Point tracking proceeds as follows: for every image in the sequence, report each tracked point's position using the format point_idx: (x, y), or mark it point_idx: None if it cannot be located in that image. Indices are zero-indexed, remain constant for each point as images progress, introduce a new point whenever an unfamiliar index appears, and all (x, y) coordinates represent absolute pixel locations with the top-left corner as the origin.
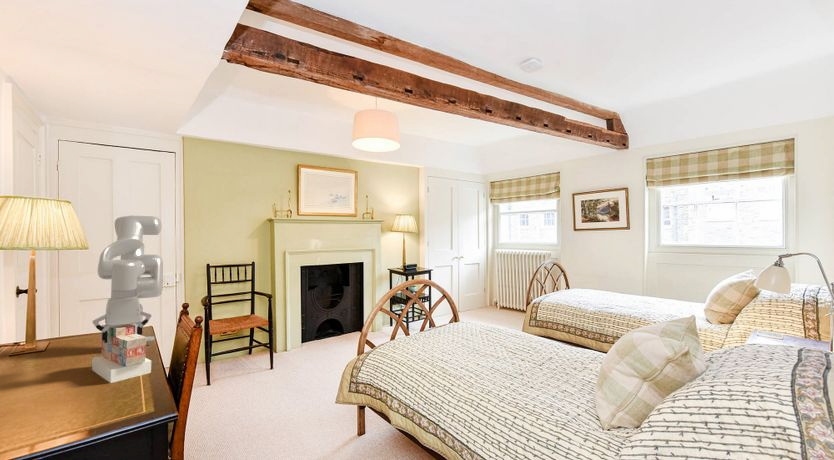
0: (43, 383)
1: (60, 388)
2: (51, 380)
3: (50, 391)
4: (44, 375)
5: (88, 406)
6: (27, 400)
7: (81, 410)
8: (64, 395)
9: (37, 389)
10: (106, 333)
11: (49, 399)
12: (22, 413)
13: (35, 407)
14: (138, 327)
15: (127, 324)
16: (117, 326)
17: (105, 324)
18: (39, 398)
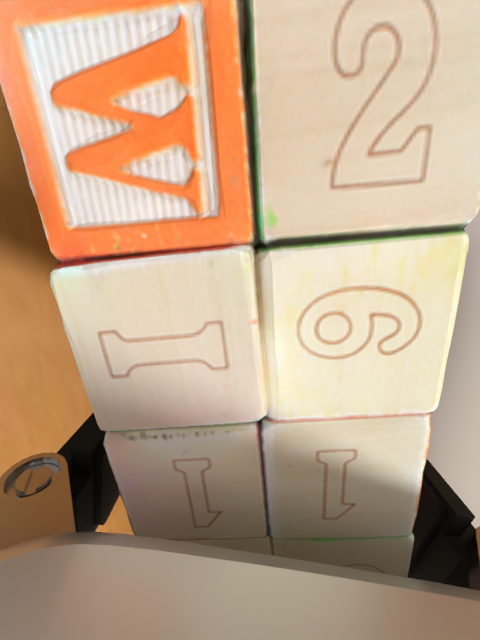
0: (18, 249)
1: (73, 354)
2: (40, 232)
3: (49, 359)
4: (4, 115)
5: (128, 519)
6: (3, 387)
7: (115, 527)
8: (84, 421)
9: (11, 307)
10: (97, 519)
11: (53, 421)
12: (11, 463)
13: (30, 449)
14: (419, 570)
15: (381, 498)
16: (217, 512)
17: (64, 7)
18: (29, 395)
